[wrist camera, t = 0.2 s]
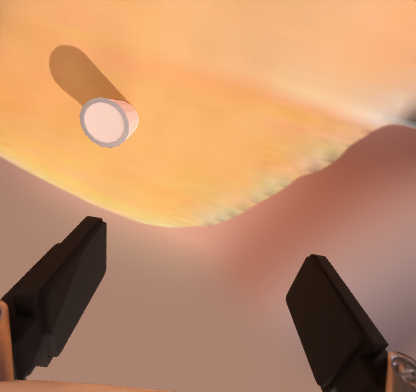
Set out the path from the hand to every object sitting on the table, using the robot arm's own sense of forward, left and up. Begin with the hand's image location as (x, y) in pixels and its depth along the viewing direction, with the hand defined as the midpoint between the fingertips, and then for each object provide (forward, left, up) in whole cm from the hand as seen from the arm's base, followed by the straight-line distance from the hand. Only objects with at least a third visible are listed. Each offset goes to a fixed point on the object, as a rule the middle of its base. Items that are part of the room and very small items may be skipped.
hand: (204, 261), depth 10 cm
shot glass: (0, -15, -31) cm, 35 cm away
